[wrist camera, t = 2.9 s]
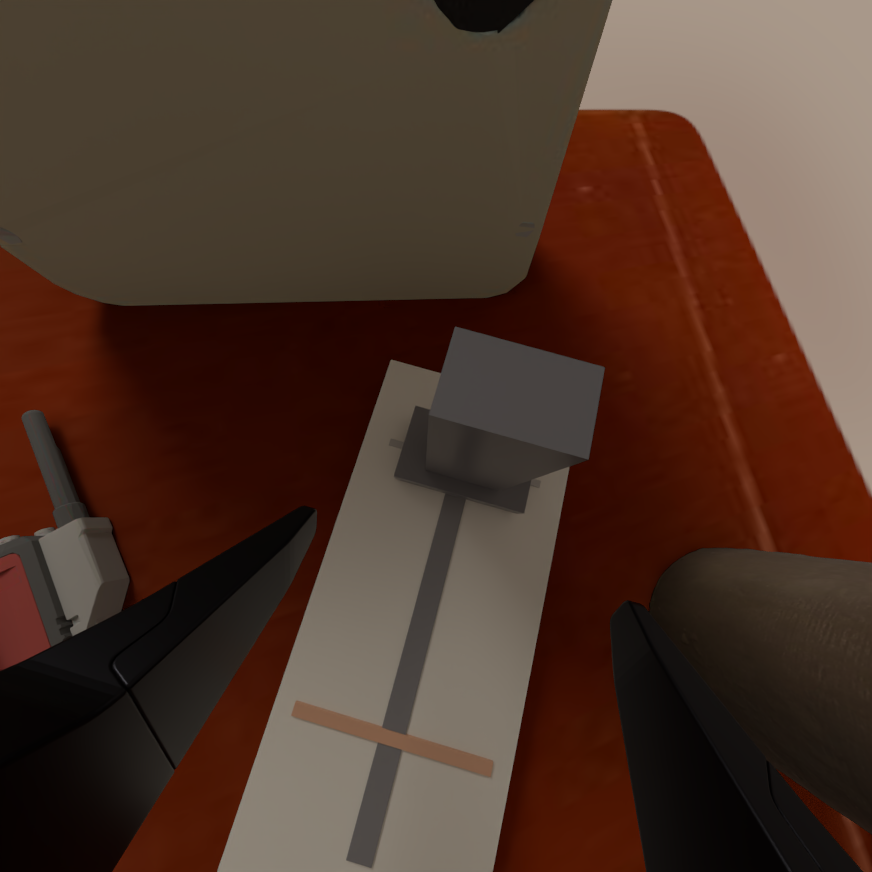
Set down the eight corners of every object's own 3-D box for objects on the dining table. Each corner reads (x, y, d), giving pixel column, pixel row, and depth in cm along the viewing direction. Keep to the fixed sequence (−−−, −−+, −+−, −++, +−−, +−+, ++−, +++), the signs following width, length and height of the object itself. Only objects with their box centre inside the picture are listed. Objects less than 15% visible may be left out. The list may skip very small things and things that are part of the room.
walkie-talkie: (194, 712, 19) (72, 409, 22) (127, 769, 15) (-11, 383, 18) (28, 819, 18) (-73, 480, 21) (-100, 917, 13) (-200, 470, 17)
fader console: (469, 909, 17) (476, 964, 15) (238, 835, 17) (213, 879, 15) (566, 420, 23) (581, 410, 21) (393, 372, 23) (390, 358, 21)
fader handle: (516, 513, 19) (645, 507, 8) (395, 479, 20) (360, 426, 8) (531, 446, 20) (665, 357, 9) (415, 413, 20) (408, 287, 9)
